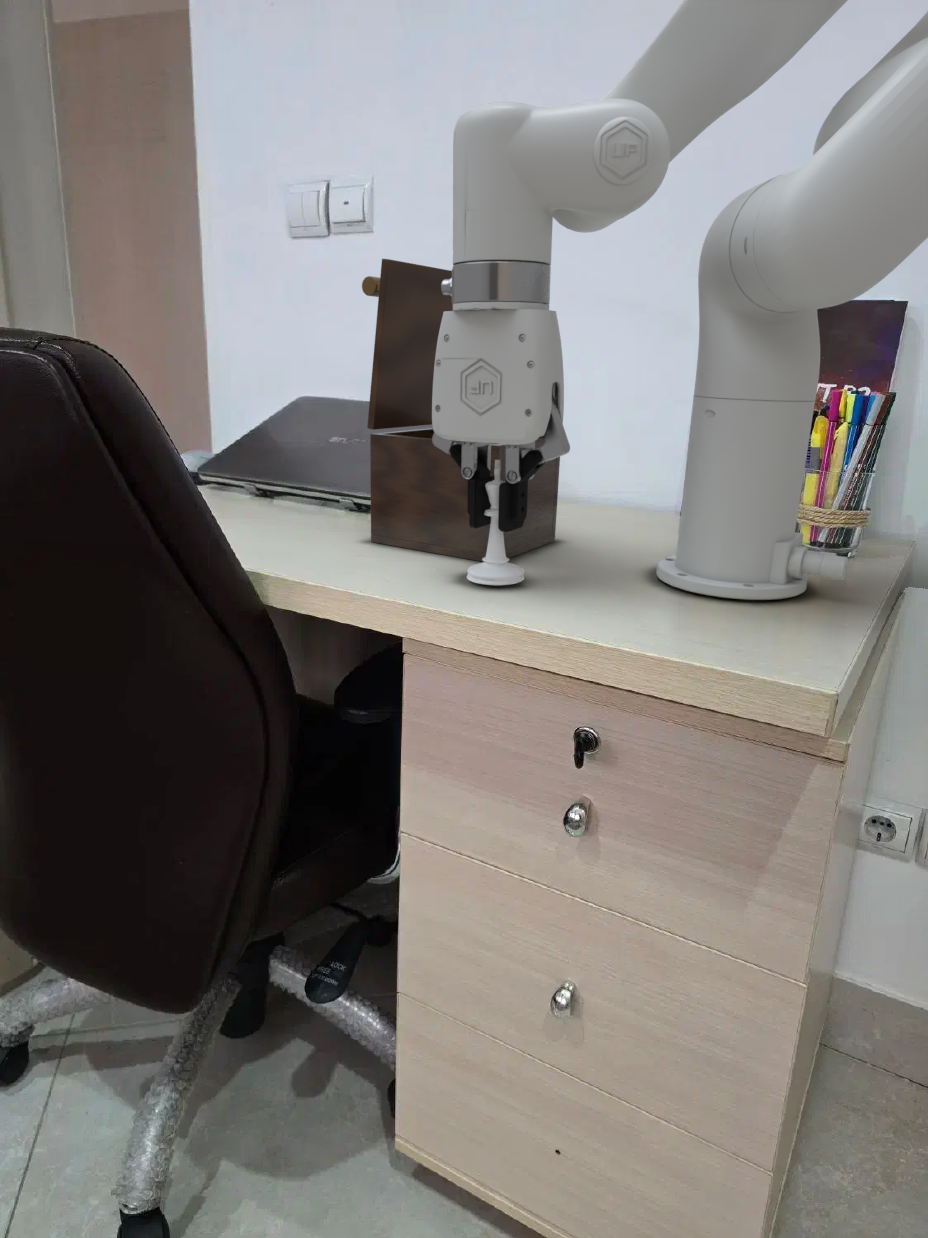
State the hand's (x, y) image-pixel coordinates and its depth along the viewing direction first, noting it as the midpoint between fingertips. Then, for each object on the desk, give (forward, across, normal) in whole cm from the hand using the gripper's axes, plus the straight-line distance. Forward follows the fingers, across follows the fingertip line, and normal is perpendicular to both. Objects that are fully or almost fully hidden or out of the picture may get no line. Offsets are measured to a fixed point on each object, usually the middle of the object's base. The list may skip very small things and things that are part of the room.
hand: (496, 525), depth 69 cm
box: (+5, -11, +12) cm, 16 cm away
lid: (-14, -16, +12) cm, 25 cm away
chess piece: (+5, 0, 0) cm, 5 cm away
